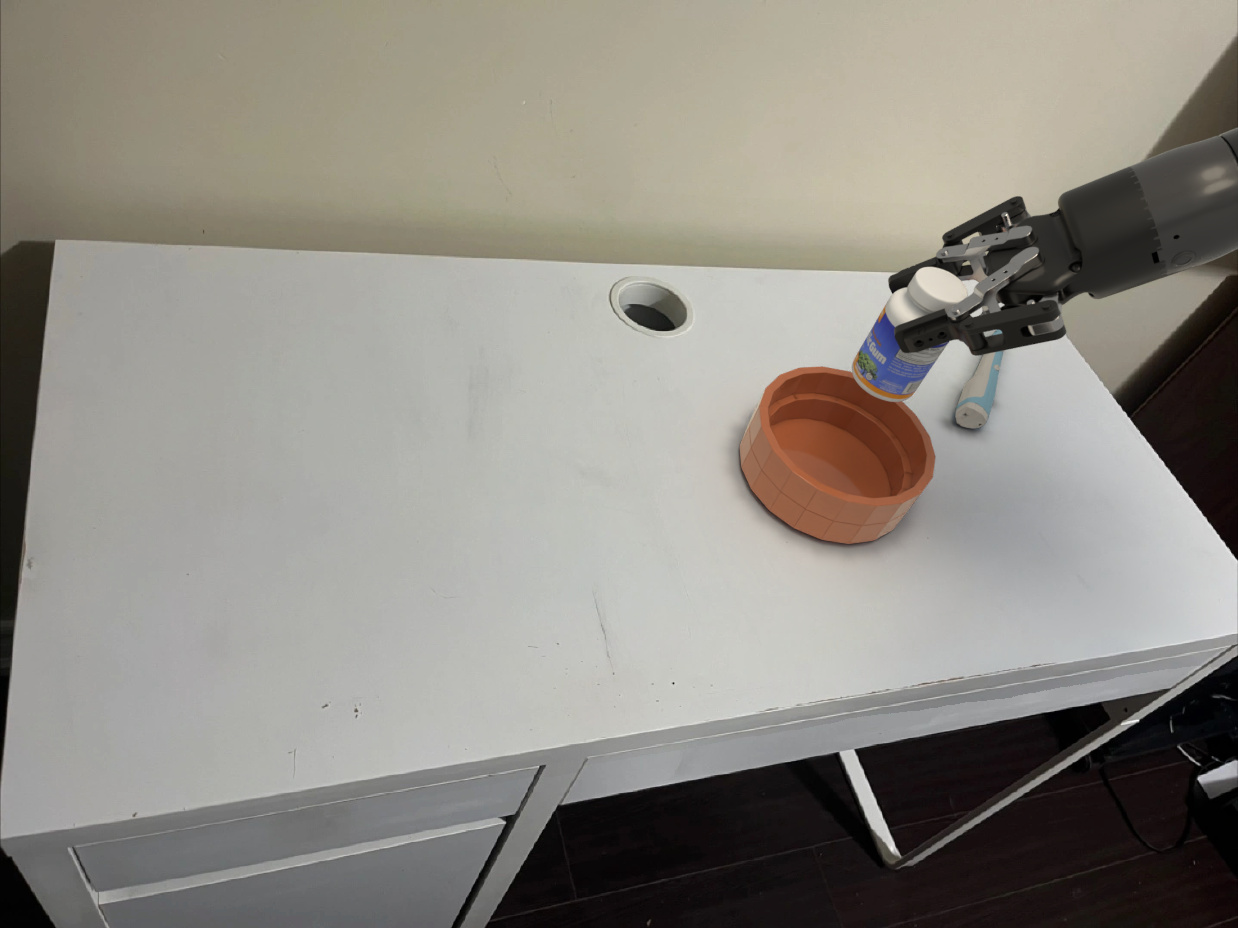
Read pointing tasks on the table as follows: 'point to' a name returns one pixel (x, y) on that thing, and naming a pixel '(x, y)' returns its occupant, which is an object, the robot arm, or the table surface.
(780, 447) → the bowl
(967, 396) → the white and blue rod
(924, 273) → the pill bottle
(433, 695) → the table surface
